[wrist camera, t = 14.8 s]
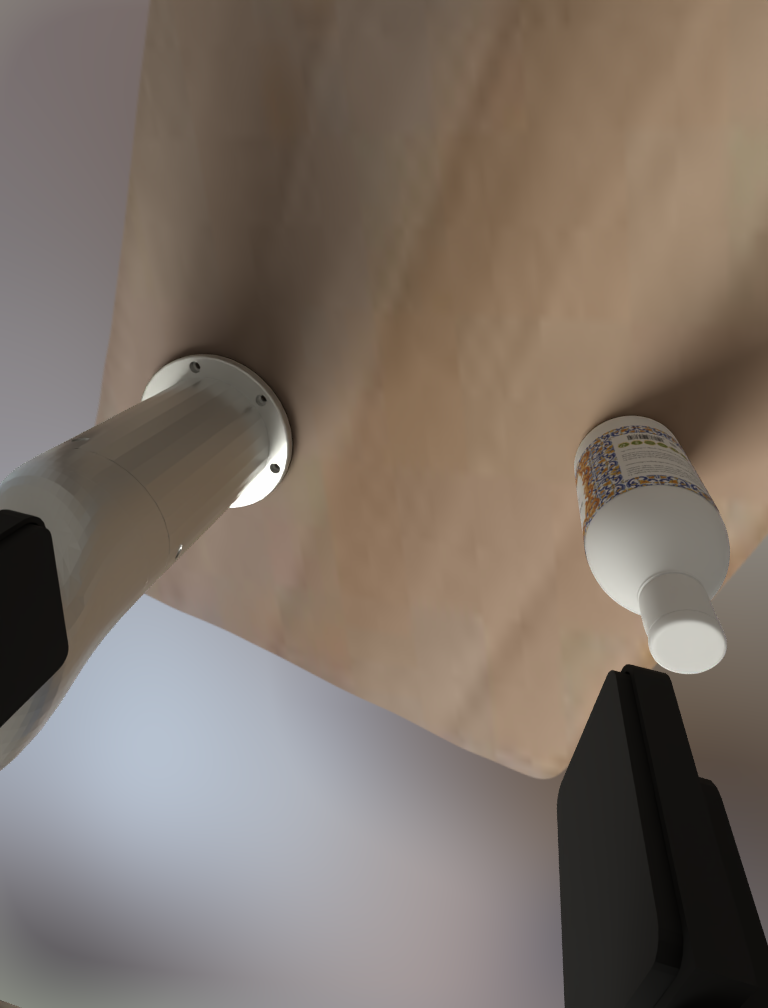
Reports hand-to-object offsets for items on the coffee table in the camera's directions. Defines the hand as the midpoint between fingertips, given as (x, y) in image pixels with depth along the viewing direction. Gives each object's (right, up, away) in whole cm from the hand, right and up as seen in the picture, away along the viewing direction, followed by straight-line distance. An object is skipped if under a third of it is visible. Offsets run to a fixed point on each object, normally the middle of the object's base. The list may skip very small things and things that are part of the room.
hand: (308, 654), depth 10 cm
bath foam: (+18, +6, +32) cm, 37 cm away
